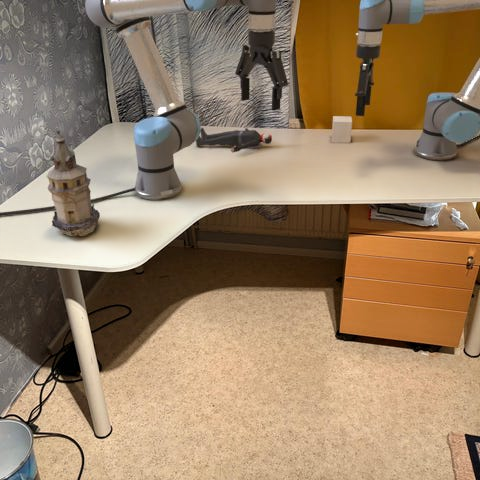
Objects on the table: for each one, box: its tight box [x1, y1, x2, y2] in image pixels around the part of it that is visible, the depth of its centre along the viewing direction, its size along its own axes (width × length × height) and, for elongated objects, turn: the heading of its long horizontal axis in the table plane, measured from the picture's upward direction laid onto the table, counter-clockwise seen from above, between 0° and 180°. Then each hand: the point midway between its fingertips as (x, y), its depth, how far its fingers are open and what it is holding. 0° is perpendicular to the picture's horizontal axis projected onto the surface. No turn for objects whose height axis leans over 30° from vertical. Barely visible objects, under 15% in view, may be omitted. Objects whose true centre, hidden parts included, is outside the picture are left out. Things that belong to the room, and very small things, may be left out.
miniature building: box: [46, 129, 101, 237], centre depth 148 cm, size 13×14×30 cm
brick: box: [331, 115, 353, 144], centre depth 219 cm, size 7×8×9 cm
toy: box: [195, 127, 273, 154], centre depth 215 cm, size 26×6×30 cm
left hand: (260, 104), depth 161 cm, fingers open, 13 cm apart
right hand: (362, 110), depth 182 cm, fingers open, 13 cm apart
